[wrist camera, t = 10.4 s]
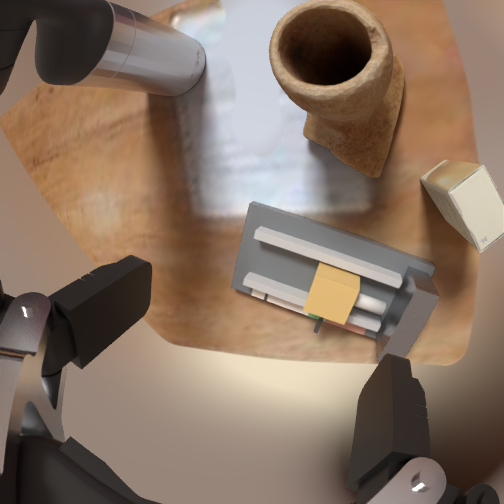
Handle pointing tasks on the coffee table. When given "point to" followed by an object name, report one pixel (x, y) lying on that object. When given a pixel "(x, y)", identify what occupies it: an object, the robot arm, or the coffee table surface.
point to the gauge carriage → (338, 295)
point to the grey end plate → (407, 314)
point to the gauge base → (315, 263)
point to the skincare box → (467, 201)
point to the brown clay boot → (341, 79)
